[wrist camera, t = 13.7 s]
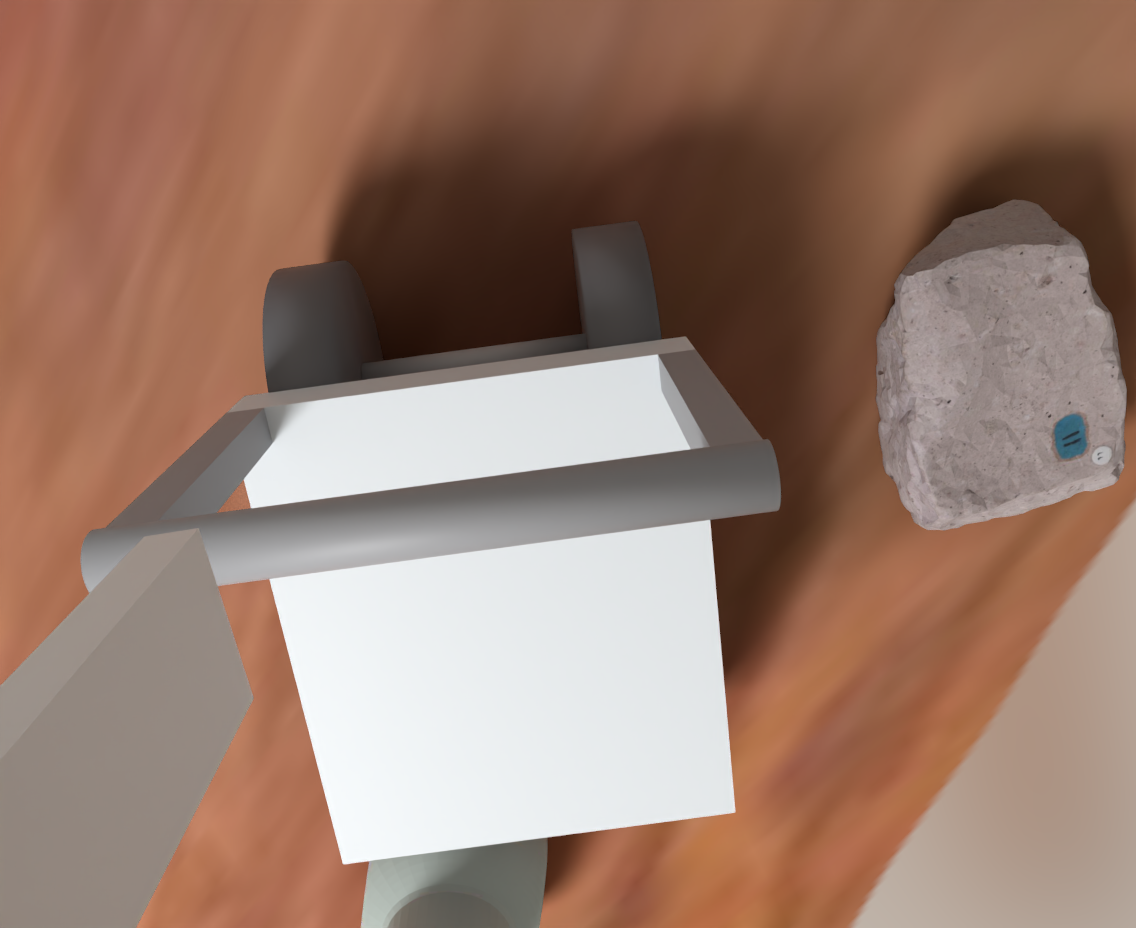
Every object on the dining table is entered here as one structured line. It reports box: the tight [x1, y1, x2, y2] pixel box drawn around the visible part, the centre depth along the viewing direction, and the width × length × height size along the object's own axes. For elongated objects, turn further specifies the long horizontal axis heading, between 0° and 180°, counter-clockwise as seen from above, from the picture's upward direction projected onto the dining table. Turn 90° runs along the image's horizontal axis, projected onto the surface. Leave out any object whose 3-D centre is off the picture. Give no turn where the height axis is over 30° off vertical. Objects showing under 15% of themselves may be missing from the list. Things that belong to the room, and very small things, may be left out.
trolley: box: [81, 221, 781, 864], centre depth 34 cm, size 15×25×22 cm, turn 7°
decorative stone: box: [876, 200, 1127, 530], centre depth 40 cm, size 13×10×6 cm
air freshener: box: [361, 837, 548, 928], centre depth 45 cm, size 11×8×10 cm
